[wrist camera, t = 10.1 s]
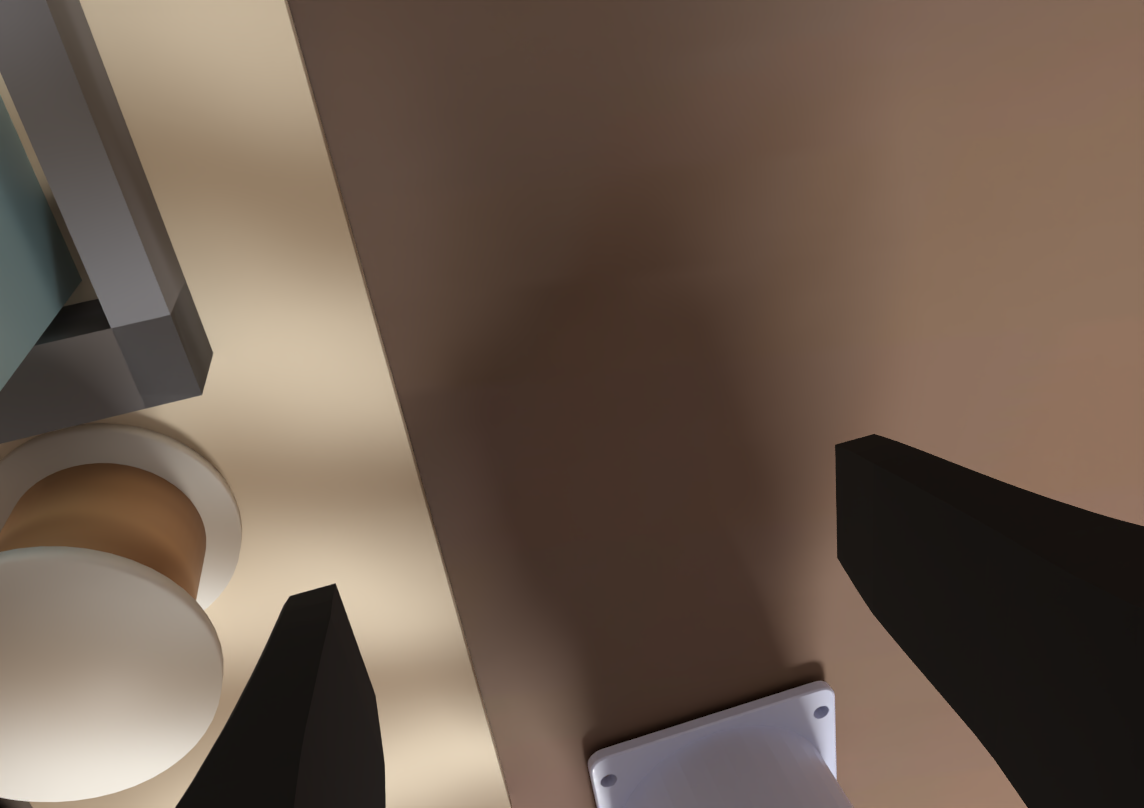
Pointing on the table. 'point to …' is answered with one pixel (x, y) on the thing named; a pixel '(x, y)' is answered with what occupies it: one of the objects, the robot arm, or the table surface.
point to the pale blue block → (27, 255)
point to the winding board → (203, 420)
